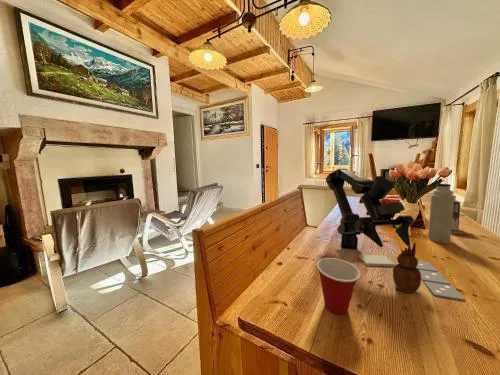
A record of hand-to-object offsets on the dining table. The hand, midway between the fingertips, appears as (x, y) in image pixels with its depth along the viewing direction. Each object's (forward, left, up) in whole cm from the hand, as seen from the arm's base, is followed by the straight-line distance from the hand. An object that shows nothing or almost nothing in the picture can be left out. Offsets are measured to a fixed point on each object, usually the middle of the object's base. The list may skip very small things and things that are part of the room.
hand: (395, 246), depth 66 cm
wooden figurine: (+2, -4, -12) cm, 13 cm away
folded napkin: (-3, +13, -12) cm, 18 cm away
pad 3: (+12, -2, -12) cm, 17 cm away
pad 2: (+12, +6, -12) cm, 18 cm away
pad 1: (+12, +14, -12) cm, 22 cm away
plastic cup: (-18, -20, -12) cm, 30 cm away
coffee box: (+42, +71, -12) cm, 83 cm away
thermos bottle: (+30, +48, -12) cm, 58 cm away
